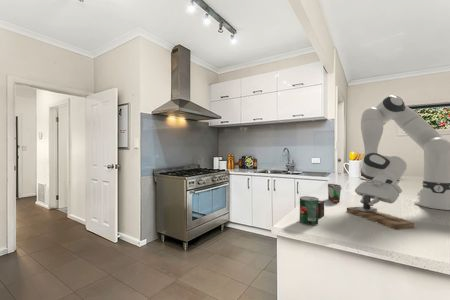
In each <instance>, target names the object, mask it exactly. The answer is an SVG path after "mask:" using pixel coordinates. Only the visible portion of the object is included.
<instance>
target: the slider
mask: <svg viewBox="0 0 450 300" xmlns="http://www.w3.org/2000/svg"><path fill="white" fill-rule="evenodd" d="M369 201H372V199H371V196H368V195H363V203H362V206H363V207H362V206H356V207H357V210H360V211H363V212H373V211H378V208H376V207H373V206H369V205H368V202H369Z"/></svg>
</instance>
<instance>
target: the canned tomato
mask: <svg viewBox="0 0 450 300" xmlns="http://www.w3.org/2000/svg"><path fill="white" fill-rule="evenodd" d="M318 200H320V199H319V198H318V197H315V196H309V195H308V196H307V195H306V196H299V223H300V224H302V225H303V226H310V227H313V226H314V227H315V226H318V225H319V218H318Z"/></svg>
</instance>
